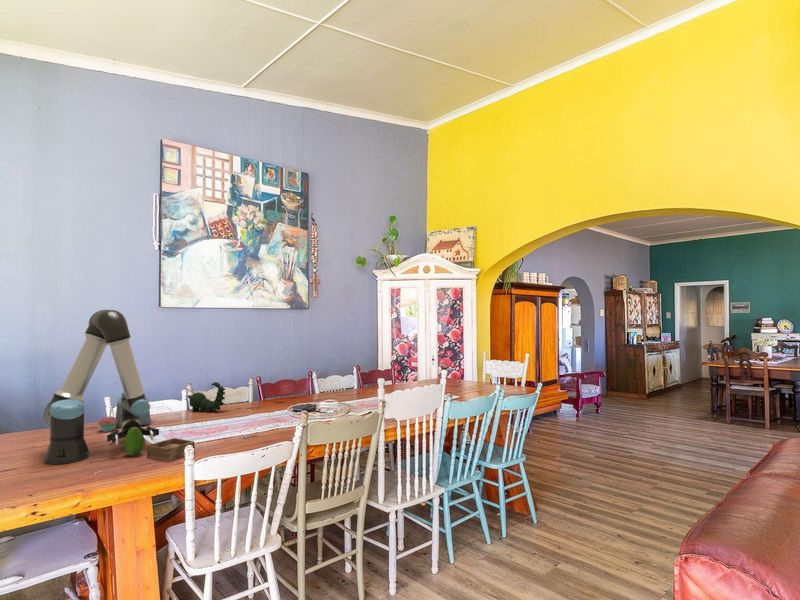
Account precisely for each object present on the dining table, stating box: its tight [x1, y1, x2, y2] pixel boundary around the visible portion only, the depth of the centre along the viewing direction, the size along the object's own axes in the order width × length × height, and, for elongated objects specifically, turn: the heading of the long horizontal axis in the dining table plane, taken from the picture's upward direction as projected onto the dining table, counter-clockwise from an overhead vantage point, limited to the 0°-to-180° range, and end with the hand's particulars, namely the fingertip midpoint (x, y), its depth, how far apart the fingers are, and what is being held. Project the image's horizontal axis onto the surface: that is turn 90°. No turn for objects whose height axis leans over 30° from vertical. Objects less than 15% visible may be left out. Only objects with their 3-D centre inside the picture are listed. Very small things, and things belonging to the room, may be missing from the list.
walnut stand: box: [146, 437, 195, 463], centre depth 208 cm, size 13×13×5 cm
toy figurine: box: [186, 381, 226, 413], centre depth 296 cm, size 9×19×25 cm
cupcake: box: [97, 407, 118, 433], centre depth 251 cm, size 9×8×12 cm
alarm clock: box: [115, 396, 152, 429], centre depth 265 cm, size 16×16×16 cm
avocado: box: [123, 427, 146, 456], centre depth 208 cm, size 8×8×12 cm
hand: (134, 439), depth 205 cm, fingers open, 12 cm apart
